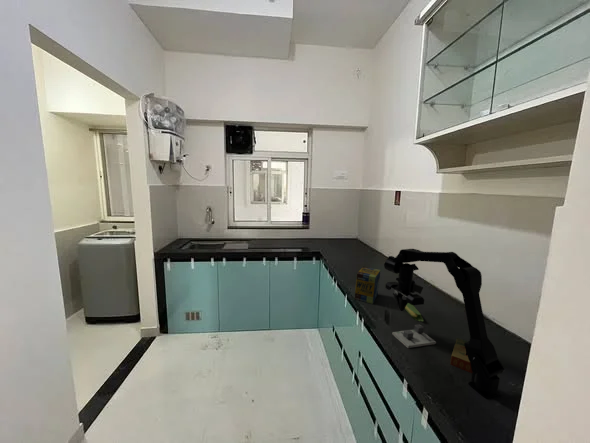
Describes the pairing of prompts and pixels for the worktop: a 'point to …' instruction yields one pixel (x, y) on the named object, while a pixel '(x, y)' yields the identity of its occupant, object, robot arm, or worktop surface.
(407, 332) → the breaker
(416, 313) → the edible corn
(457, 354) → the carton
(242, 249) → the worktop surface
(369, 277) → the protein box
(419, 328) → the block
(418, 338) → the breaker board
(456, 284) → the robot arm
